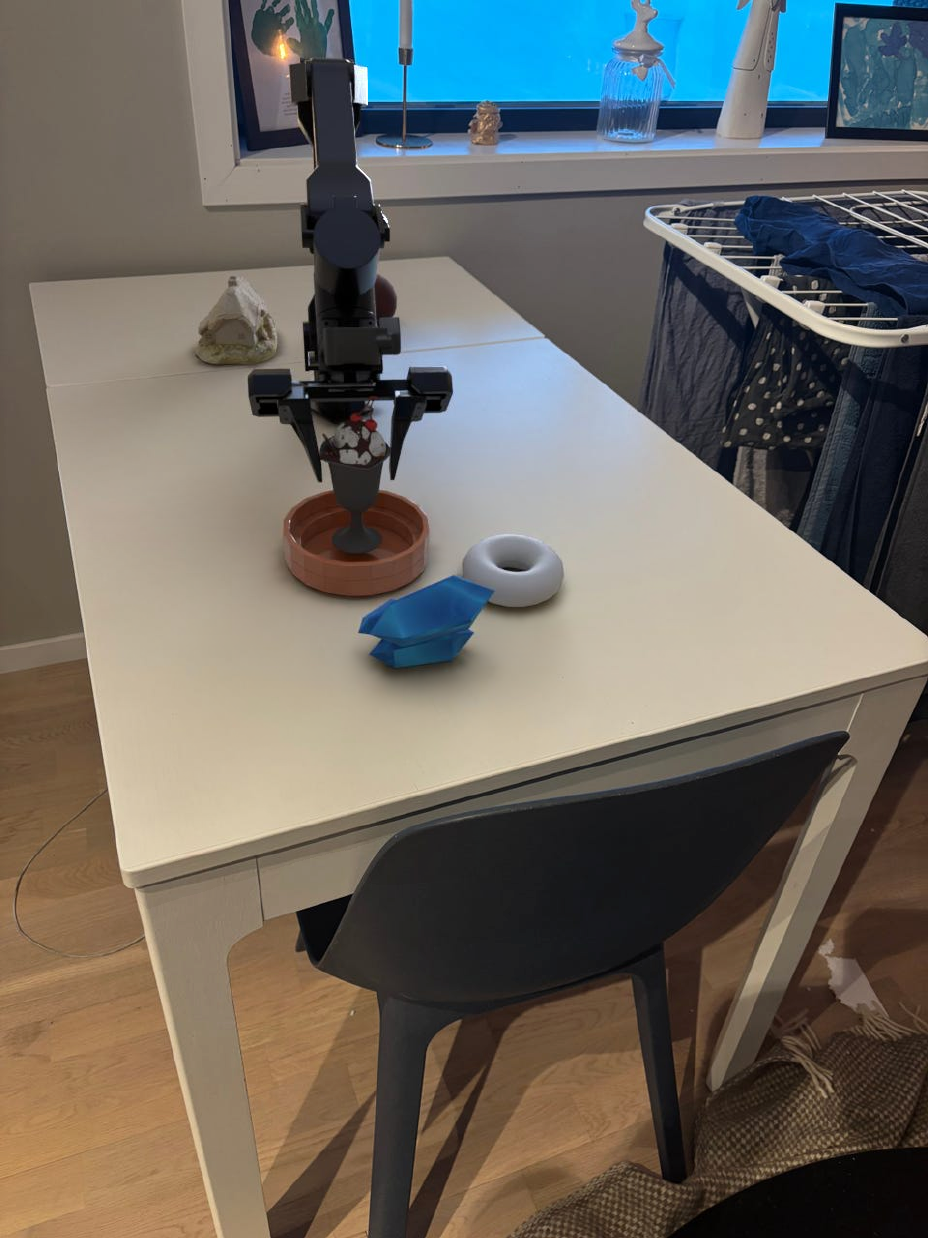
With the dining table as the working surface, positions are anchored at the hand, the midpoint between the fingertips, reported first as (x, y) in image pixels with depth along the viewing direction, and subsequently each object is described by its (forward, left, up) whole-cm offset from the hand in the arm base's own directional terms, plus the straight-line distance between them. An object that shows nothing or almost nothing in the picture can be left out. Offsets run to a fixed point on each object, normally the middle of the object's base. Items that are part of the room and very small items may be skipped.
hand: (356, 480), depth 87 cm
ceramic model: (-54, +21, -10) cm, 59 cm away
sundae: (-1, +1, -8) cm, 8 cm away
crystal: (+15, -4, -10) cm, 18 cm away
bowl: (-1, +1, -10) cm, 10 cm away
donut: (+12, +10, -10) cm, 18 cm away
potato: (-50, +42, -10) cm, 66 cm away
